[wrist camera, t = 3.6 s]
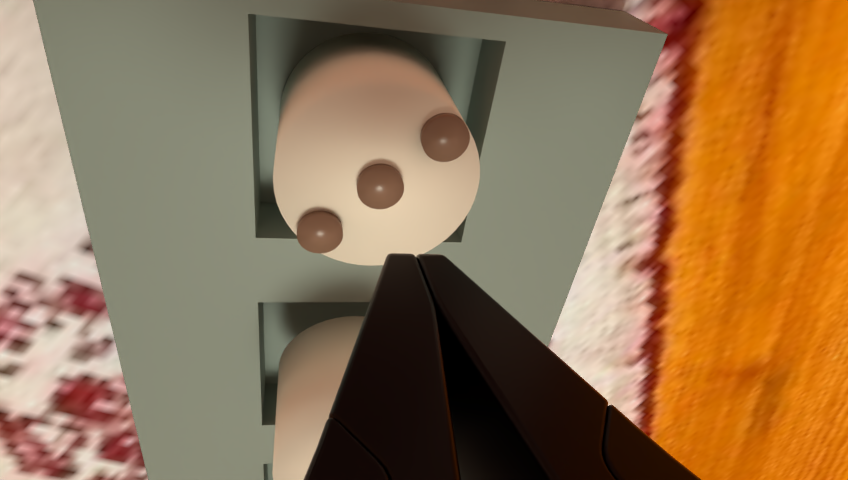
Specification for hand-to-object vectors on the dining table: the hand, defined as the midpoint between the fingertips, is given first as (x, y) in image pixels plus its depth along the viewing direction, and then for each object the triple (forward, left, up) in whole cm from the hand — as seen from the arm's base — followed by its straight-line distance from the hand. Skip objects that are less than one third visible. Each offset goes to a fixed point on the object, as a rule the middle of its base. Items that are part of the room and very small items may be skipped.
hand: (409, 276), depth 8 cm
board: (0, -7, -7) cm, 10 cm away
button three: (0, 0, -6) cm, 6 cm away
